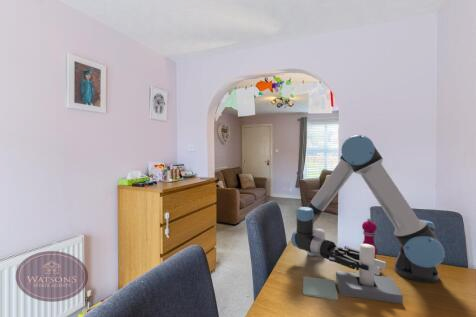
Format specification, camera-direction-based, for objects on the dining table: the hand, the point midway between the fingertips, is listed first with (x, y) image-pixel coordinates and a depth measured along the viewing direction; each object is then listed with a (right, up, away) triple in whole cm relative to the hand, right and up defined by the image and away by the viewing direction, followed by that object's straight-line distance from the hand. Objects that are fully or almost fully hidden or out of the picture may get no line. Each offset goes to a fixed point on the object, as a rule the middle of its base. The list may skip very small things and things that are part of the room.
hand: (382, 268), depth 88 cm
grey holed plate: (-3, -10, +4) cm, 11 cm away
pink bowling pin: (+11, -9, +29) cm, 32 cm away
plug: (-3, -9, +4) cm, 11 cm away
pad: (-21, -10, +6) cm, 24 cm away
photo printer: (-12, -9, +36) cm, 39 cm away
